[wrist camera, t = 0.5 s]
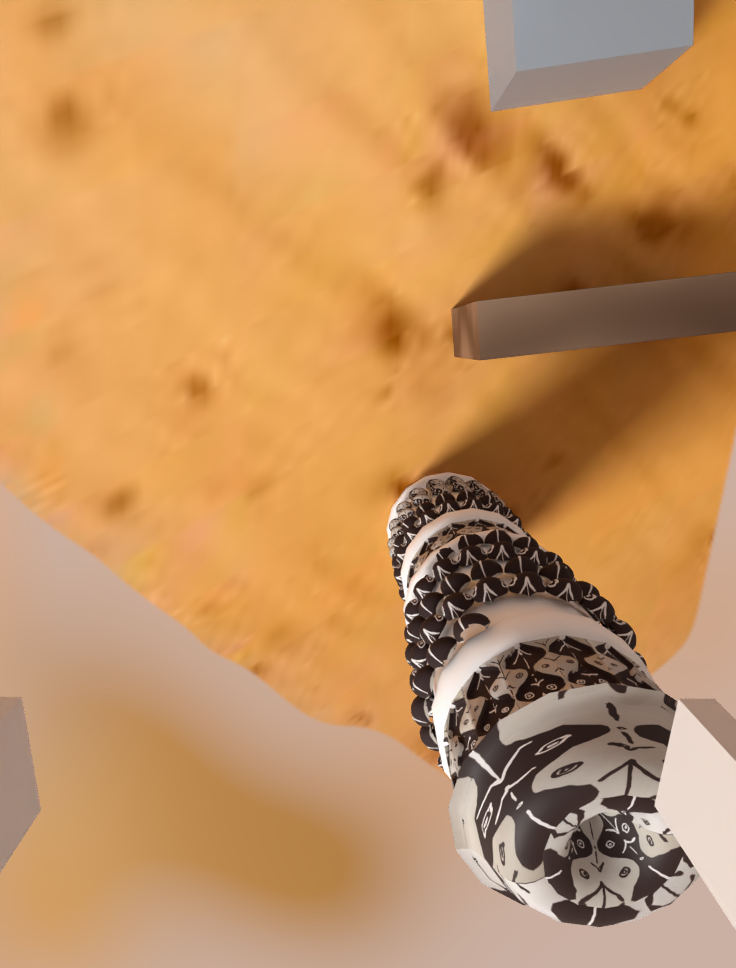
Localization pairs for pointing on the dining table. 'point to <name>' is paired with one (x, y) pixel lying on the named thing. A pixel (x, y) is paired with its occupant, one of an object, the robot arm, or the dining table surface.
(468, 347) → the board
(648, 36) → the slate block
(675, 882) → the decorative candle
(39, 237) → the dining table surface
